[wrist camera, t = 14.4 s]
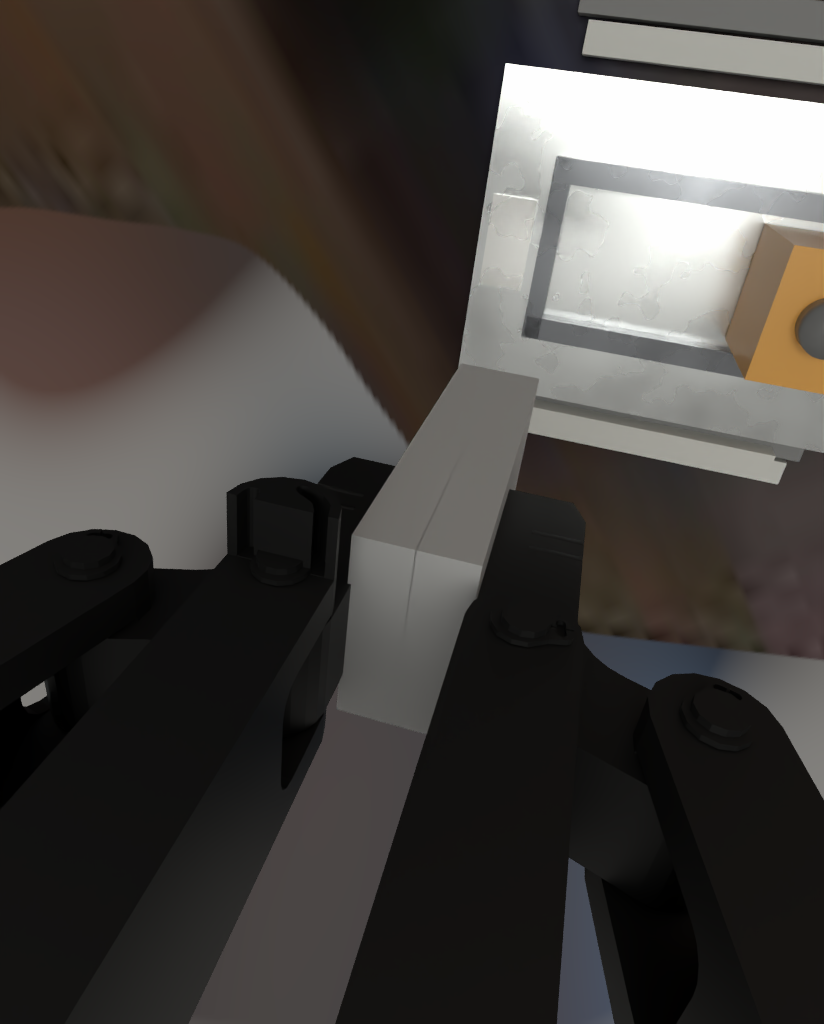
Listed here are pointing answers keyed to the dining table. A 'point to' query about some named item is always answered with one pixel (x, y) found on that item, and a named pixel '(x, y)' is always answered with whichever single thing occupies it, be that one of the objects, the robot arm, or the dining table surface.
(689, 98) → the panel
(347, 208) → the dining table surface
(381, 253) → the dining table surface
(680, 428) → the long thin grey slat
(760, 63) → the grey long flat bar
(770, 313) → the block
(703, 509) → the dining table surface
